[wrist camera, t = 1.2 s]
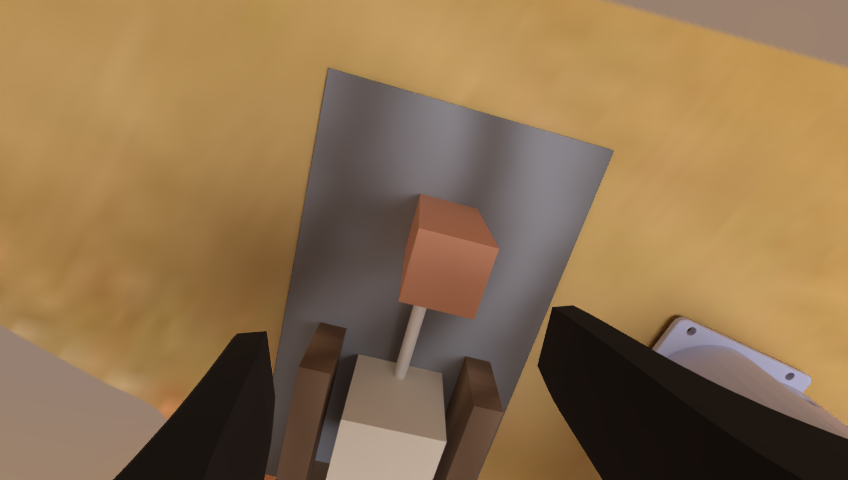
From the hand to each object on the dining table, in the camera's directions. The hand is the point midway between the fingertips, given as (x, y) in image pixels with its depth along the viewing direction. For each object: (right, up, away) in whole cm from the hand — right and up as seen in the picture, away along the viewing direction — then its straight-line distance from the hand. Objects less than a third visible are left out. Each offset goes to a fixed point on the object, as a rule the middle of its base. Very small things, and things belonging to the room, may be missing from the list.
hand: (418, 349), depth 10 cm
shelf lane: (-1, -3, +12) cm, 13 cm away
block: (-1, -2, +12) cm, 12 cm away
